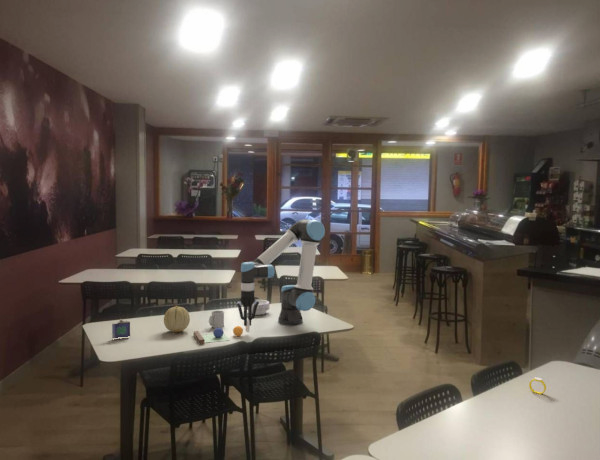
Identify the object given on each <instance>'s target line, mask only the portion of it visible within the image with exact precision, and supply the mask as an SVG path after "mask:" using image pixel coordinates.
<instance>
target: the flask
mask: <svg viewBox="0 0 600 460" xmlns="http://www.w3.org/2000/svg"><path fill="white" fill-rule="evenodd" d="M111 331H112V333H111V335H112V336H111V337H112V338H118V337H128V336H130V337H131V322H130V321H128V320H123V319H122V318H120V319H119V322H113V323H112V325H111ZM112 338H111V339H112Z"/></svg>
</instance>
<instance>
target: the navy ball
mask: <svg viewBox="0 0 600 460" xmlns="http://www.w3.org/2000/svg"><path fill="white" fill-rule="evenodd" d="M223 333H224V330H223V328H214V330H213V333H212V334H214V336H215V337H216V338H220V337H222V336H223ZM224 334H225V333H224Z"/></svg>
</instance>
